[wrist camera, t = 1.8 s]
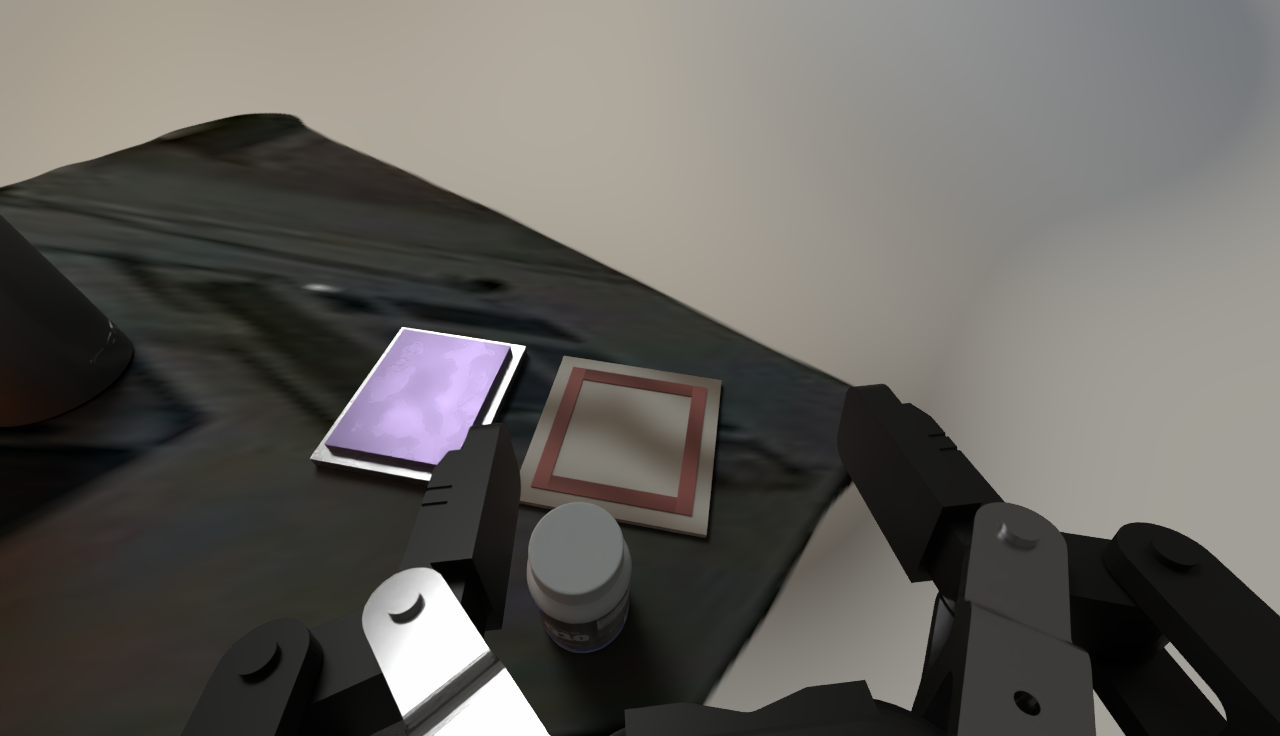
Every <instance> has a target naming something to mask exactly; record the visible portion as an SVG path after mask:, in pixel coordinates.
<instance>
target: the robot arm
mask: <svg viewBox="0 0 1280 736" xmlns="http://www.w3.org/2000/svg"><path fill="white" fill-rule="evenodd" d="M132 352H133V348H132V342H131V341H130V340H129V338H128V337H127V336H126V335H125V334H124V333H123V332H122V331H121V330H120V329H119V328H118V327H117V326H116V325H115V324H114V323H113V322H112V321H111V320H109V319H108V318H107V317H106V316H105V315H104V314H103V313H102V312H101V311H100V310H99V309H98V308H97V307H96V306H95V305H94V304H93V303H92V302H91V301H90V300H89V299H88V298H87V297H86V296H85V295H84V294H83V293H82V292H81V291H80V290H79V289H77V288H76V287H75V286H74V285H73V284H72V283H71V282H70V281H69V280H68V279H67V278H66V277H65V276H64V275H63V274H62V273H61V272H60V271H59V270H58V269H57V268H56V267H54V266H53V265H52V264H51V263H50V262H49V261H48V260H47V259H46V258H45V257H44V256H43V255H42V254H41V253H40V252H39V251H38V250H37V249H36V248H35V247H34V246H33V245H32V244H30V243H29V242H28V241H27V240H26V239H25V238H24V237H23V236H22V235H21V234H20V233H19V232H18V231H17V230H16V229H15V228H14V227H13V226H12V225H11V224H10V223H9V222H8V221H6V220H5V219H4V218H3V217H2V216H1V215H0V427H11V426H21V425H26V424H31V423H36V422H39V421H43V420H46V419H49V418H52V417H55V416H58V415H60V414H62V413H65V412H67V411H69V410H71V409H74V408H76V407H77V406H79V405H81V404H83V403H85V402H87V401H88V400H90V399H92V398H93V397H95V396H96V395H98V394H99V393H100V392H102V391H103V390H105V389H106V388H107V387H108V386H109V385H110V384H112V383H113V382H114V381H115V380H116V379H117V378H118V377H119V376H120V375H121V373H122V372H123V371H124V370H125V369H126V367H127V365H128V363H129V361H130V360H131V356H132ZM837 446H838V451H839V455H840V458H841V460H842V462H843V464H844V466H845V468H846V469H847V471H848V473H849V475H850V476H851V478H852V480H853V482H854V483H855V485H856V487H857V488H858V490H859V492H860V494H861V496H862V497H863V499H864V501H865V502H866V504H867V506H868V508H869V510H870V511H871V513H872V515H873V517H874V518H875V520H876V522H877V524H878V525H879V527H880V529H881V531H882V532H883V534H884V536H885V537H886V539H887V541H888V543H889V545H890V546H891V548H892V550H893V552H894V553H895V555H896V557H897V559H898V560H899V562H900V564H901V565H902V567H903V569H904V571H905V573H906V574H907V576H908V578H909V580H910V581H911V583H914V582H922V581H931V580H933V582H934V583H935V585H936V587H937V588H938V590H939V592H938V594H937V597H936V599H935V604H934V610H933V616H932V622H931V627H930V633H929V638H928V645H927V650H926V656H925V661H924V667H923V673H922V678H921V682H920V685H919V689H918V692H917V695H916V698H915V701H914V704H913V707H912V711H908V710H906V709H904V708H901V707H899V706H897V705H894V704H891V703H887V702H884V701H881V700H876V699H873V698H872V695H871V693H870V690H869V688H868V686H867V683H866V681H865V680H861V681H853V682H845V683H838V684H829V685H820V686H812V687H806V688H804V689H802V690H800V691H798V692H795V693H793V694H791V695H789V696H787V697H784V698H782V699H780V700H778V701H776V702H774V703H771V704H769V705H767V706H765V707H763V708H761V709H758V710H756V711H753V712H739V711H733V710H727V709H721V708H715V707H710V706H704V705H698V704H692V703H686V702H682V703H674V704H666V705H658V706H650V707H642V708H634V709H625V728H623V729H621V730H619V731H617V732H615V733H613V734H611V735H610V736H1096V728H1095V714H1094V699H1093V689H1094V691H1095V692H1096V693H1097V695H1098V696H1099V698H1100V699H1101V701H1102V702H1103V704H1104V705H1105V707H1106V708H1107V709H1108V711H1109V712H1110V714H1111V715H1112V717H1113V718H1114V720H1115V721H1116V722H1117V724H1118V725H1119V727H1120V728H1121V729H1122V731H1123V733H1124V734H1125V735H1126V736H1280V616H1279V615H1278V614H1277V613H1276V612H1274V611H1273V610H1272V609H1271V608H1270V607H1269V606H1268V605H1267V604H1266V603H1265V602H1264V601H1262V600H1261V599H1260V598H1259V597H1258V596H1257V595H1256V594H1255V593H1254V592H1253V591H1252V590H1250V589H1249V588H1248V587H1247V586H1246V585H1245V584H1244V583H1243V582H1242V581H1241V580H1240V579H1239V578H1237V577H1236V576H1235V575H1234V574H1233V573H1232V572H1231V571H1230V570H1229V569H1228V568H1227V567H1225V566H1224V565H1223V564H1222V563H1221V562H1220V561H1219V560H1218V559H1217V558H1216V557H1215V556H1214V555H1212V554H1211V553H1210V552H1209V551H1208V550H1207V549H1205V548H1204V547H1203V546H1201V545H1200V544H1198V543H1197V542H1195V541H1194V540H1192V539H1190V538H1189V537H1187V536H1185V535H1183V534H1181V533H1179V532H1177V531H1174V530H1171V529H1169V528H1166V527H1163V526H1160V525H1155V524H1151V523H1140V522H1138V523H1137V522H1136V523H1130V524H1126V525H1124V526H1122V527H1121V528H1120V529H1119V531H1118V532H1117V533H1116V535H1115V536H1114V537H1113V539H1112V540H1109V539H1102V538H1095V537H1089V536H1082V535H1076V534H1069V533H1064V532H1059V531H1058V529H1057V528H1056V527H1055V526H1054V525H1053V524H1052V523H1051V522H1049V521H1048V520H1047V519H1045V518H1044V517H1043V516H1041V515H1039V514H1038V513H1036V512H1034V511H1032V510H1030V509H1028V508H1025V507H1022V506H1019V505H1015V504H1011V503H1005V502H1004V501H1003V500H1002V498H1001V497H1000V496H999V495H998V494H997V493H996V491H995V490H994V489H993V488H992V487H991V486H990V484H989V483H988V482H987V481H986V480H985V479H984V477H983V476H982V475H981V474H980V473H979V472H978V471H977V469H976V468H975V467H974V466H973V465H972V464H971V462H970V461H969V460H968V459H967V458H966V457H965V455H964V454H963V453H962V452H961V451H960V450H957V446H956V445H955V444H954V443H953V442H952V440H951V439H950V438H949V437H948V436H947V437H946V436H945V432H944V431H943V430H942V429H941V428H940V427H939V425H938V424H937V423H936V422H935V421H934V419H933V418H932V417H931V416H929V415H928V414H926V413H925V412H923V411H922V410H920V409H919V408H917V407H915V406H914V405H912V404H911V403H906V404H902V403H901V402H900V401H899V399H898V398H897V397H896V396H895V394H894V393H893V392H892V391H891V389H890V388H889V387H888V386H886V385H885V384H876V385H867V386H857V387H850V388H849V389H848V391H847V393H846V397H845V402H844V407H843V411H842V416H841V421H840V426H839V430H838V436H837ZM520 496H521V479H520V472H519V467H518V464H517V460H516V457H515V453H514V450H513V446H512V443H511V439H510V436H509V432H508V429H507V426H506V424H505V423H503V422H502V423H493V424H483V425H473V426H471V427H470V428H469V430H468V433H467V437H466V440H465V443H464V447H463V449H460V450H450V451H448V452H447V453H446V454H445V456H444V457H443V458H442V459H441V460H440V462H439V463H438V464H437V465H436V466H435V467H434V469H433V472H432V475H431V478H430V481H429V484H428V486H427V492H425V495H424V498H423V501H422V508H420V510H419V513H418V516H417V518H416V521H415V524H414V527H413V530H412V533H411V536H410V539H409V542H408V545H407V548H406V551H405V553H404V556H403V559H402V562H401V565H400V568H399V570H398V572H397V574H396V575H394V576H392V577H390V578H389V579H388V580H386V581H385V582H384V583H383V584H381V585H380V586H379V587H378V588H377V589H376V590H375V592H374V593H373V594H372V596H371V597H370V598H369V600H368V602H367V604H366V606H364V607H363V608H361V609H359V610H357V611H355V612H353V613H350V614H348V615H345V616H343V617H341V618H338V619H336V620H333V621H331V622H328V623H326V624H323V625H321V626H318V627H316V628H313V629H311V630H308V628H307V627H306V626H305V625H304V624H303V623H302V622H300V621H299V620H296V619H290V618H285V619H278V620H273V621H270V622H268V623H265V624H263V625H261V626H259V627H257V628H255V629H254V630H252V631H250V632H249V633H247V634H246V635H245V636H243V637H242V638H241V639H240V640H238V641H237V642H236V643H235V644H234V645H233V646H232V647H231V648H230V649H229V650H228V651H227V652H226V654H225V655H224V656H223V658H222V659H221V660H220V662H219V664H218V665H217V667H216V669H215V670H214V672H213V674H212V676H211V678H210V680H209V682H208V684H207V686H206V688H205V690H204V692H203V694H202V696H201V698H200V699H199V701H198V703H197V705H196V707H195V709H194V711H193V713H192V715H191V717H190V719H189V721H188V723H187V725H186V726H185V728H184V730H183V732H182V734H181V736H370V735H372V734H374V733H376V732H378V731H380V730H382V729H384V728H386V727H388V726H390V725H393V724H395V723H397V722H399V721H401V720H403V719H404V721H405V724H406V727H407V729H406V730H405V734H406V736H549V734H548V732H547V731H546V729H545V728H544V726H543V725H542V723H541V722H540V720H539V719H538V717H537V716H536V714H535V713H534V711H533V710H532V708H531V707H530V705H529V703H528V702H527V700H526V699H525V697H524V696H523V694H522V693H521V691H520V690H519V688H518V687H517V685H516V684H515V682H514V681H513V679H512V677H511V676H510V674H509V673H508V671H507V670H506V668H505V667H504V666H503V664H502V663H501V661H500V660H499V659H498V658H497V657H495V656H494V655H493V654H492V652H491V651H490V649H489V648H488V646H487V645H486V643H485V642H484V640H483V639H484V633H485V631H489V630H498V629H502V623H503V616H504V609H505V602H506V595H507V588H508V580H509V573H510V566H511V559H512V552H513V545H514V538H515V531H516V524H517V517H518V510H519V503H520ZM1169 642H1171V643H1172V644H1173V646H1175V648H1176V649H1177V650H1178V651H1179V652H1180V654H1181V655H1182V656H1183V657H1184V658H1185V659H1186V661H1187V662H1188V663H1189V664H1190V665H1191V666H1192V667H1193V668H1194V670H1195V671H1196V672H1197V673H1198V674H1199V676H1201V678H1202V679H1203V680H1204V681H1205V682H1206V684H1208V686H1209V687H1210V688H1211V689H1212V691H1213V692H1214V693H1215V694H1216V695H1217V697H1218V698H1219V700H1220V701H1221V703H1222V705H1223V707H1224V710H1225V713H1226V718H1227V721H1226V720H1225V719H1224V718H1223V717H1222V715H1221V714H1220V713H1219V712H1218V711H1217V709H1216V708H1215V707H1214V706H1213V705H1212V703H1211V702H1210V701H1209V700H1208V699H1207V698H1206V696H1205V695H1204V694H1203V693H1202V692H1201V691H1200V689H1199V688H1198V687H1197V686H1196V685H1195V684H1194V682H1193V681H1192V680H1191V679H1190V678H1189V676H1188V675H1187V674H1186V673H1185V672H1184V671H1183V669H1182V668H1181V667H1180V666H1179V665H1178V663H1177V662H1176V661H1175V660H1174V659H1173V658H1172V657H1171V655H1170V654H1169V653H1168V652H1167V651H1166V649H1165V648H1164V647H1165V646H1166V645H1167V644H1168V643H1169Z"/></svg>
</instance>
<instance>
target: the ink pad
mask: <svg viewBox="0 0 1280 736" xmlns="http://www.w3.org/2000/svg"><path fill="white" fill-rule="evenodd" d="M526 355H527V350H526V346H521V345H515V344H508V343H502V342H495V341H489V340H482V339H476V338H470V337H463V336H457V335H450V334H444V333H437V332H431V331H425V330H418V329H412V328H405V327H402V328H401V329H400V331H399V332H398V334H397V335H396V337H395V338H394V339H393V341H392V342H391V344H390V345H389V347H388V348H387V349H386V351H385V352H384V354H383V355H382V356H381V358H380V359H379V361H378V362H377V364H376V365H375V366H374V368H373V369H372V371H371V372H370V374H369V375H368V376H367V378H366V379H365V381H364V382H363V384H362V385H361V386H360V388H359V389H358V391H357V392H356V394H355V395H354V396H353V398H352V399H351V401H350V402H349V403H348V405H347V406H346V408H345V409H344V411H343V412H342V413H341V415H340V416H339V418H338V419H337V421H336V422H335V423H334V425H333V426H332V428H331V429H330V431H329V432H328V433H327V435H326V436H325V438H324V439H323V441H322V442H321V443H320V445H319V446H318V448H317V449H316V450H315V452H314V453H313V455H312V456H311V458H310V460H311V461H312V462H313V463H314V464H315V465H317V466H322V467H328V468H333V469H338V470H344V471H349V472H354V473H360V474H365V475H371V476H376V477H381V478H387V479H392V480H397V481H403V482H408V483H414V484H419V485H424V486H428V484H429V481H430V478H431V475H432V472H433V469H434V467H435V466H436V465H437V464H438V463H439V462H440V460H441V459H442V458H443V457H444V456H445V454H446V453H447V452H448V451H450V450H460V449H463V447H464V443H465V440H466V437H467V433H468V430H469V428H470V427H471V426H473V425H483V424H493V423H496V422H497V420H498V417H499V415H500V413H501V411H502V408H503V406H504V404H505V402H506V400H507V397H508V395H509V393H510V391H511V388H512V386H513V384H514V382H515V379H516V377H517V375H518V373H519V370H520V368H521V366H522V364H523V362H524V359H525V357H526Z"/></svg>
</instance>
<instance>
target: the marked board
mask: <svg viewBox="0 0 1280 736" xmlns="http://www.w3.org/2000/svg"><path fill="white" fill-rule="evenodd" d="M721 381H722V380H716V379H709V378H703V377H696V376H690V375H684V374H677V373H671V372H664V371H658V370H652V369H645V368H639V367H632V366H626V365H620V364H613V363H607V362H600V361H594V360H588V359H581V358H575V357H568V356H564V357H563V360H562V363H561V365H560V368H559V370H558V373H557V376H556V378H555V381H554V384H553V386H552V389H551V392H550V394H549V397H548V399H547V402H546V405H545V407H544V410H543V413H542V415H541V418H540V420H539V423H538V426H537V428H536V431H535V434H534V436H533V439H532V441H531V444H530V447H529V449H528V452H527V455H526V457H525V460H524V463H523V465H522V468H521V470H520V479H521V496H520V504H525V505H531V506H536V507H542V508H547V509H552V510H553V509H555V508H557V507H559V506H561V505H564V504H568V503H573V502H585V503H591V504H594V505H597V506H599V507H601V508H603V509H604V510H606V511H607V512H609V513H610V514H611V515H612V517H613V518H614V519H615V520H616V521H617V522H622V523H628V524H633V525H638V526H644V527H649V528H654V529H660V530H665V531H670V532H676V533H681V534H687V535H692V536H697V537H703V538H706V535H707V525H708V515H709V505H710V494H711V484H712V474H713V464H714V453H715V443H716V433H717V422H718V412H719V402H720V392H721Z"/></svg>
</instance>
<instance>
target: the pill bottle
mask: <svg viewBox="0 0 1280 736" xmlns="http://www.w3.org/2000/svg"><path fill="white" fill-rule="evenodd" d="M528 556H529V559H528V564H527V582H528V587H529V590H530V593H531V596H532V598H533V601H534V603H535V605H536V608H537V610H538V613H539V615H540V618H541V621H542V623H543V626H544V628H545V630H546V631H547V633H548V634H549V636H550V637H551V638H552V639H553V641H555V642H556V643H557V644H558V645H559V646H561V647H562V648H564V649H566V650H569V651H571V652H576V653H588V652H593V651H597V650H599V649H601V648H603V647H605V646H607V645H608V644H609V643H611V642H612V641H613V640H614V639H615V638H616V637H617V635H618V634H619V633H620V631H621V630H622V628H623V626H624V624H625V622H626V619H627V615H628V610H629V596H630V583H631V573H632V564H631V556H630V552H629V549H628V546H627V544H626V542H625V540H624V539H623V535H622V531H621V529H620V527H619V525H618V523H617V522H616V520H615V519H614V518H613V517H612V515H611V514H610V513H609V512H607V511H606V510H604V509H603V508H601V507H599V506H597V505H594V504H591V503H585V502H573V503H568V504H564V505H561V506H559V507H557V508H555V509H553V510H551V511H550V512H549V513H547V514H546V515H545V516H544V517H543V518H542V519H541V520H540V521H539V523H538V524H537V525H536V527H535V529H534V531H533V533H532V535H531V538H530V542H529V549H528Z"/></svg>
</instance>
